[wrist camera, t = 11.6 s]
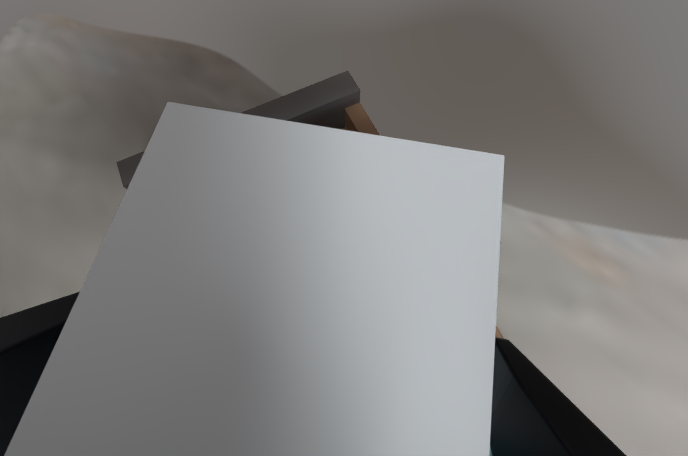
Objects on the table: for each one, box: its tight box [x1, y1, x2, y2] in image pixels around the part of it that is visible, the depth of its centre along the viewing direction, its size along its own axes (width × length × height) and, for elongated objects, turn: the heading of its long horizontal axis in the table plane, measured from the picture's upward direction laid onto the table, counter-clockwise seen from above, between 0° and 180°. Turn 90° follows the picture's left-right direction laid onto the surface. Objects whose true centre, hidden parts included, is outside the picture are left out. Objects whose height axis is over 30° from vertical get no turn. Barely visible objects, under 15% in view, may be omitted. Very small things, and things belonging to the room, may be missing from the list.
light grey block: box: [4, 102, 504, 456], centre depth 10 cm, size 5×5×12 cm
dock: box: [117, 71, 504, 339], centre depth 16 cm, size 24×14×3 cm, turn 26°
